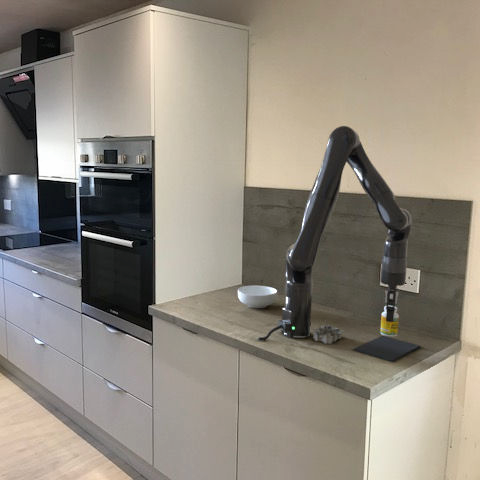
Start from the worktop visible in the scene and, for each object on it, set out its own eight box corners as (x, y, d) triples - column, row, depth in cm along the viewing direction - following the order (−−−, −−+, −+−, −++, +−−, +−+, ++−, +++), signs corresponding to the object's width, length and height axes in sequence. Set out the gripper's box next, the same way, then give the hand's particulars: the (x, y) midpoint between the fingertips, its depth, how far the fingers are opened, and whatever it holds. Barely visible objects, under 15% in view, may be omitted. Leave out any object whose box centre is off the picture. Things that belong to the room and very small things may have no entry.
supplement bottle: (386, 330, 180) (388, 303, 178) (400, 335, 176) (403, 307, 174) (376, 333, 177) (378, 306, 176) (391, 338, 173) (393, 310, 171)
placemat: (392, 361, 166) (392, 360, 166) (354, 350, 175) (354, 348, 175) (420, 347, 179) (420, 345, 178) (383, 337, 188) (383, 335, 188)
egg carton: (328, 345, 180) (329, 333, 179) (309, 339, 185) (310, 328, 185) (344, 338, 187) (345, 327, 186) (325, 332, 192) (326, 322, 192)
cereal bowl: (248, 298, 238) (248, 283, 237) (282, 304, 228) (283, 288, 227) (230, 306, 224) (230, 290, 223) (266, 313, 215) (267, 297, 214)
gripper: (382, 264, 181) (378, 311, 183) (380, 272, 168) (376, 323, 171) (406, 266, 178) (402, 314, 180) (406, 275, 165) (401, 326, 167)
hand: (389, 318), depth 175 cm, fingers closed on supplement bottle, 5 cm apart
